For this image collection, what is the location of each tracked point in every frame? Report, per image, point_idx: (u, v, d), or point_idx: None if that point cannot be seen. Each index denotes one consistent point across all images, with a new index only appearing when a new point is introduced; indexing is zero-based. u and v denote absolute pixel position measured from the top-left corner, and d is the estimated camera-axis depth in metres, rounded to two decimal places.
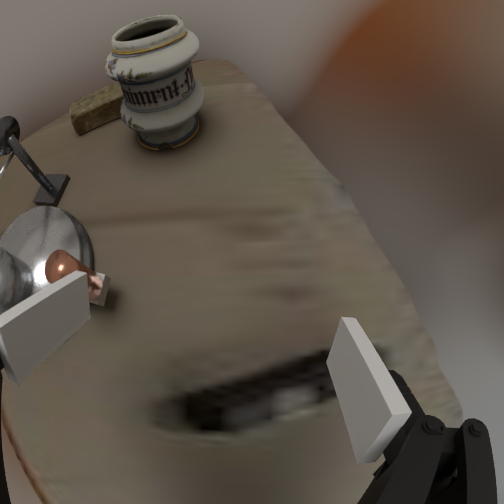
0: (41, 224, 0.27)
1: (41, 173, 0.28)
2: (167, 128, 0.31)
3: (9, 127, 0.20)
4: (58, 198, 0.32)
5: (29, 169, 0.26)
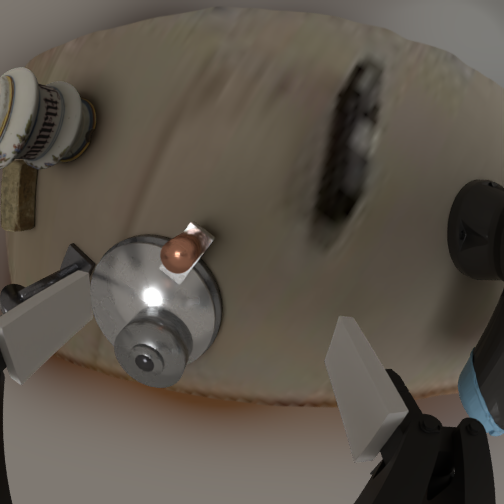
0: (110, 281, 0.32)
1: (61, 270, 0.30)
2: (80, 123, 0.25)
3: (11, 295, 0.21)
4: (88, 259, 0.34)
5: (54, 282, 0.28)
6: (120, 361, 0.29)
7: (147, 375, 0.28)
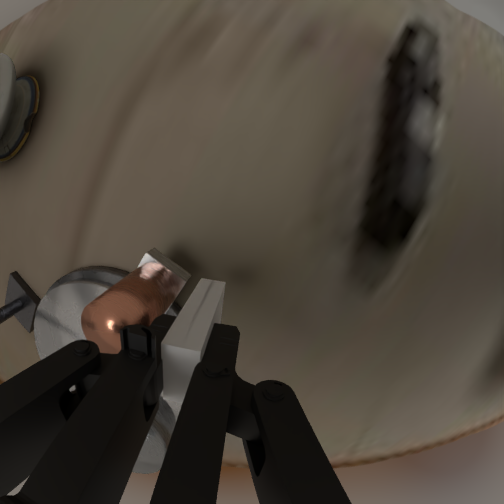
0: (54, 334, 0.19)
1: None
2: (8, 104, 0.13)
3: None
4: (33, 295, 0.21)
5: None
6: None
7: None
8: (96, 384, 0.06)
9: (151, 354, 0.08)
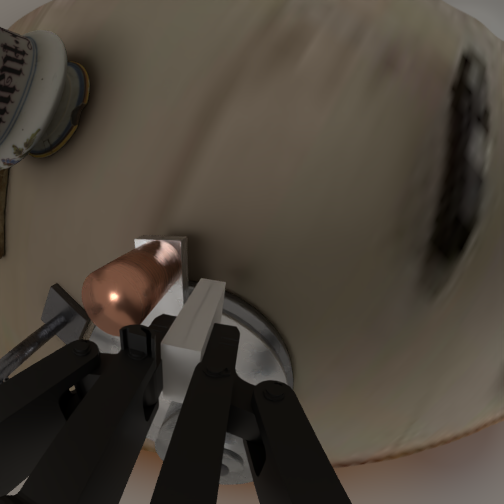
0: None
1: (40, 330, 0.18)
2: (61, 90, 0.13)
3: None
4: (81, 310, 0.22)
5: (31, 352, 0.16)
6: None
7: (229, 478, 0.15)
8: (96, 384, 0.06)
9: (151, 354, 0.08)
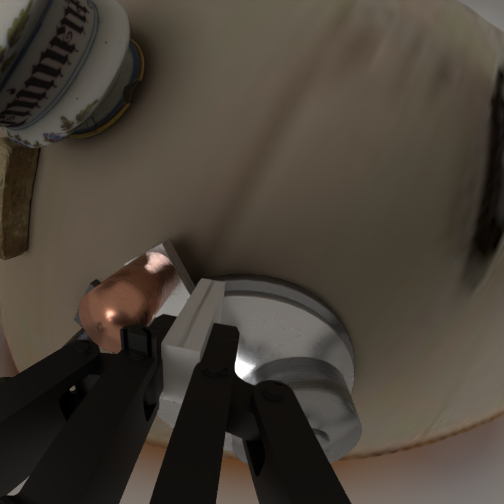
0: None
1: (81, 334, 0.17)
2: (124, 59, 0.12)
3: None
4: None
5: None
6: None
7: None
8: (96, 384, 0.06)
9: (151, 354, 0.08)
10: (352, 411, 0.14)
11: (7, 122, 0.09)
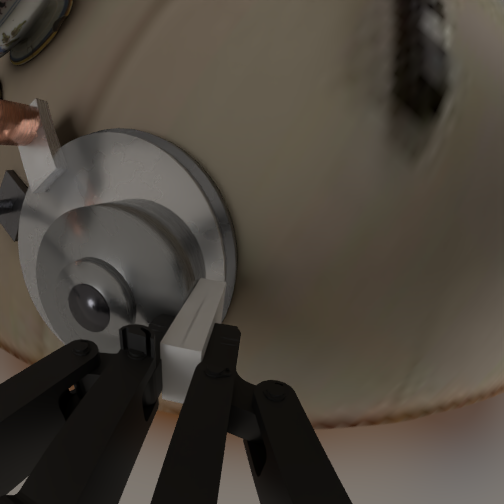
0: None
1: None
2: None
3: None
4: None
5: None
6: None
7: None
8: (95, 384, 0.06)
9: (150, 354, 0.08)
10: (150, 233, 0.11)
11: None
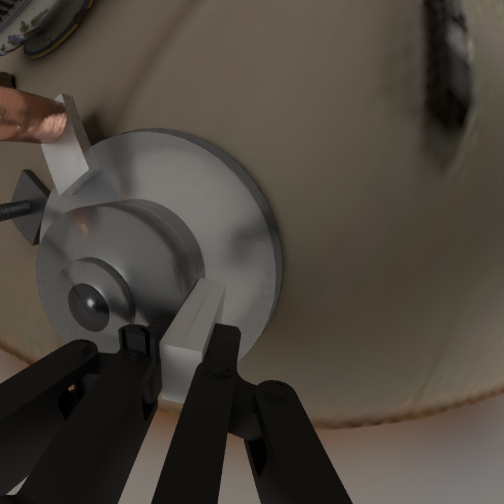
0: None
1: None
2: None
3: None
4: (47, 191, 0.18)
5: None
6: None
7: None
8: (95, 384, 0.06)
9: (150, 354, 0.08)
10: (149, 233, 0.11)
11: None
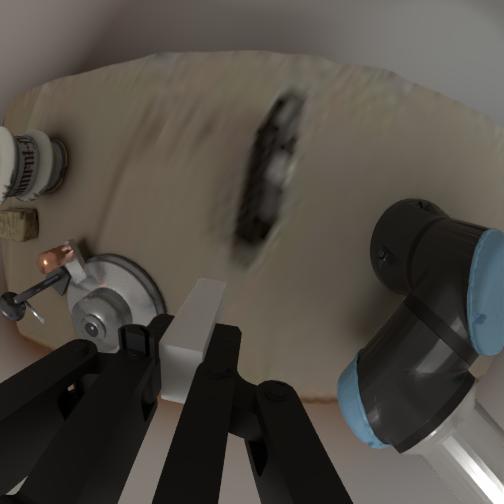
0: None
1: (45, 281, 0.37)
2: (52, 166, 0.32)
3: (7, 300, 0.28)
4: (67, 271, 0.41)
5: (40, 290, 0.35)
6: None
7: (102, 336, 0.34)
8: (94, 383, 0.06)
9: (149, 353, 0.08)
10: (109, 310, 0.34)
11: None
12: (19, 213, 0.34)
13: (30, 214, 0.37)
